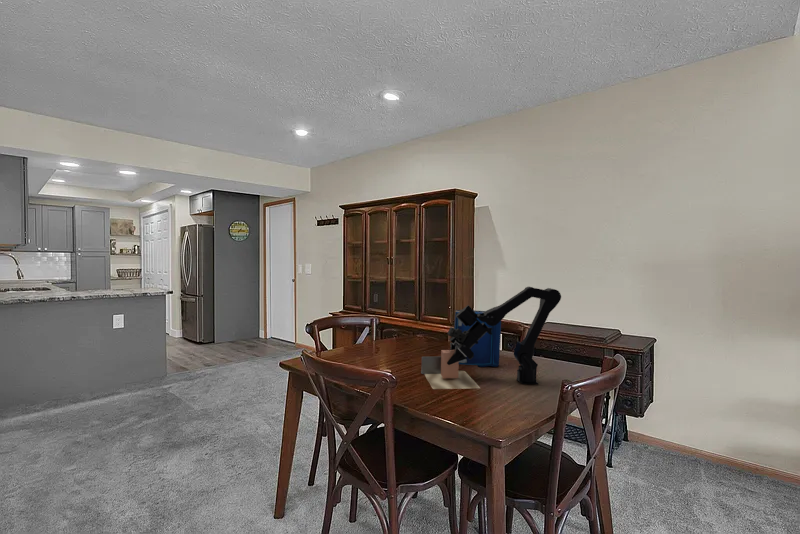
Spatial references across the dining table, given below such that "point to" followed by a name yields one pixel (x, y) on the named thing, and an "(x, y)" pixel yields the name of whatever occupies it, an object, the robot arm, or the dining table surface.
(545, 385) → the dining table surface
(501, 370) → the dining table surface
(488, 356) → the book
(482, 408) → the dining table surface
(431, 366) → the bookend
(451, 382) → the beige cloth placemat
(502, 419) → the dining table surface
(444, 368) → the salmon pink rectangular block
